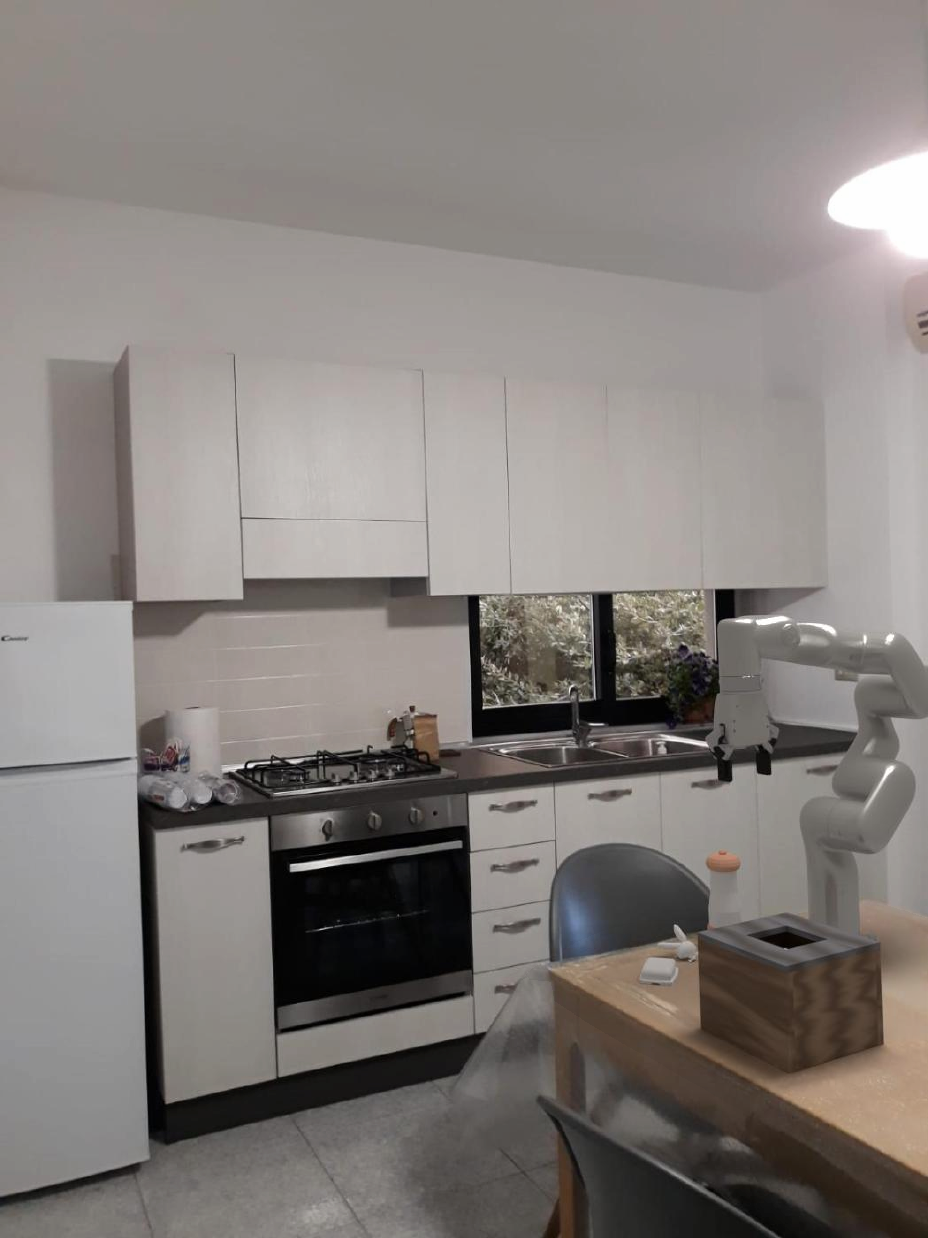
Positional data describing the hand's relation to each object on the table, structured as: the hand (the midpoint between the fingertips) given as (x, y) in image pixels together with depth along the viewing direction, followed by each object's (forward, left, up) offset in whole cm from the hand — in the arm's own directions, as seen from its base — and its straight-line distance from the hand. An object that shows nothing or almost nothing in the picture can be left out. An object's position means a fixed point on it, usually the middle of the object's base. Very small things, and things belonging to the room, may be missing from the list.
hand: (744, 777), depth 194 cm
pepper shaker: (-12, -21, -38) cm, 45 cm away
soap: (+12, -12, -39) cm, 42 cm away
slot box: (+12, +21, -38) cm, 45 cm away
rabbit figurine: (+2, -19, -38) cm, 43 cm away
